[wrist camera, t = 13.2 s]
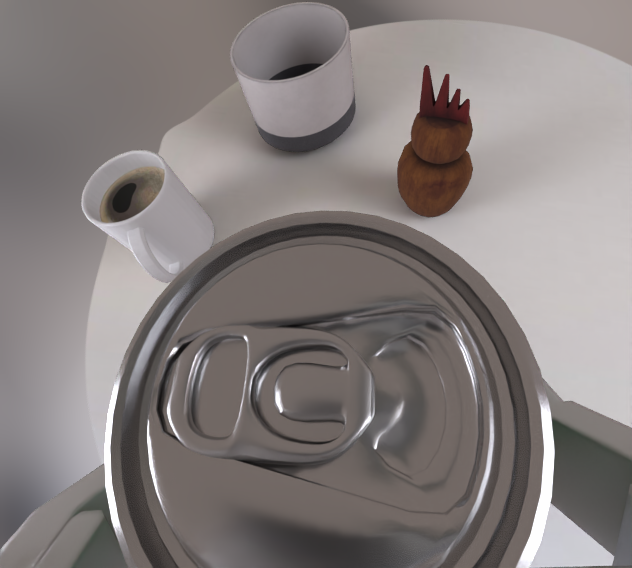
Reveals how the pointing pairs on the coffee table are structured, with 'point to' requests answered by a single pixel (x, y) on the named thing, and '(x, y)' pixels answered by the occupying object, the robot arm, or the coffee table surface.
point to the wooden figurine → (436, 152)
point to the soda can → (329, 409)
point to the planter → (297, 74)
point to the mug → (148, 213)
